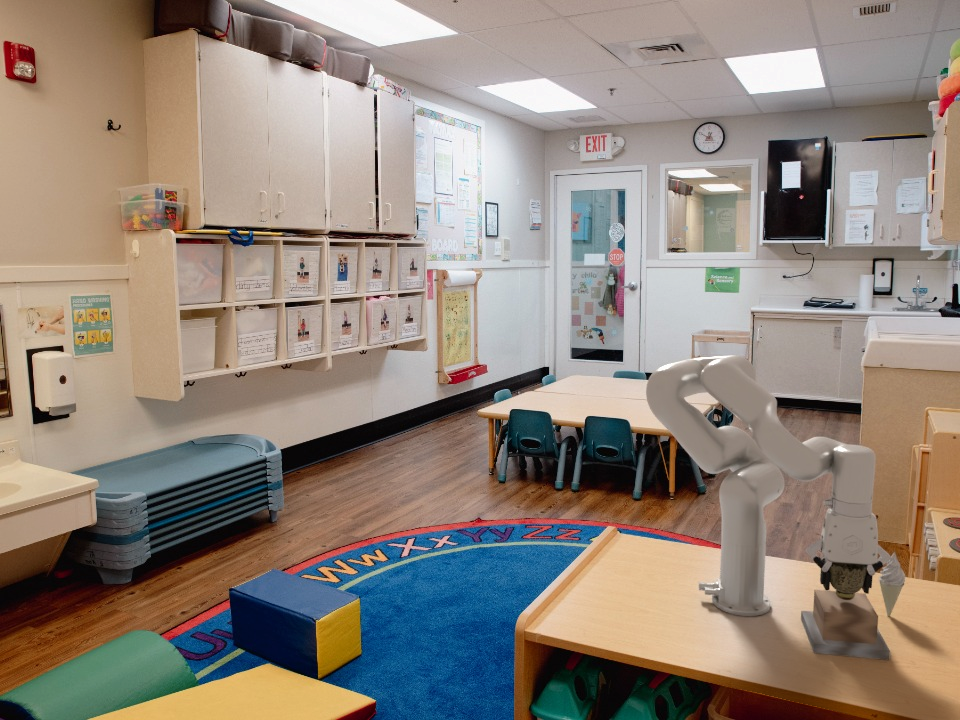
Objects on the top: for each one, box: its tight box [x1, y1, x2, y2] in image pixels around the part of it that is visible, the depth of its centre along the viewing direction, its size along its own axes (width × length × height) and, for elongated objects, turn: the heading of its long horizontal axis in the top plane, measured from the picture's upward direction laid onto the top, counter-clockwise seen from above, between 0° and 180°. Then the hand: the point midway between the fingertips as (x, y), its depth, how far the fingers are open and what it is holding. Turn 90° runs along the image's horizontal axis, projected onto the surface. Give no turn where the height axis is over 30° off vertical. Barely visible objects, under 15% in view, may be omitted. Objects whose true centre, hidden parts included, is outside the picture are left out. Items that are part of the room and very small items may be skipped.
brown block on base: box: [800, 589, 891, 661], centre depth 162 cm, size 14×14×8 cm
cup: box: [829, 562, 868, 600], centre depth 160 cm, size 8×7×8 cm
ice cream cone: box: [878, 551, 906, 617], centre depth 170 cm, size 5×5×15 cm
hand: (845, 588), depth 161 cm, fingers closed on cup, 6 cm apart
